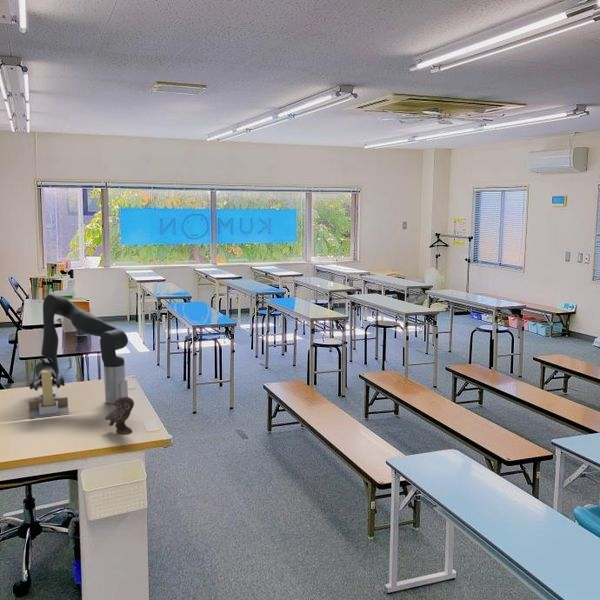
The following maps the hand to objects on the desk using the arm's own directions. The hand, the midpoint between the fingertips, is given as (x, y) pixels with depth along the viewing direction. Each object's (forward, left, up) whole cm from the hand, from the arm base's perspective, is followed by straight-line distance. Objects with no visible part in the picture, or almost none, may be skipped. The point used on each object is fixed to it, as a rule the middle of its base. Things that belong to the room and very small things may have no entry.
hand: (47, 387), depth 272 cm
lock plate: (+5, -7, -12) cm, 15 cm away
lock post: (+1, -2, -11) cm, 11 cm away
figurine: (-41, +13, -12) cm, 45 cm away
